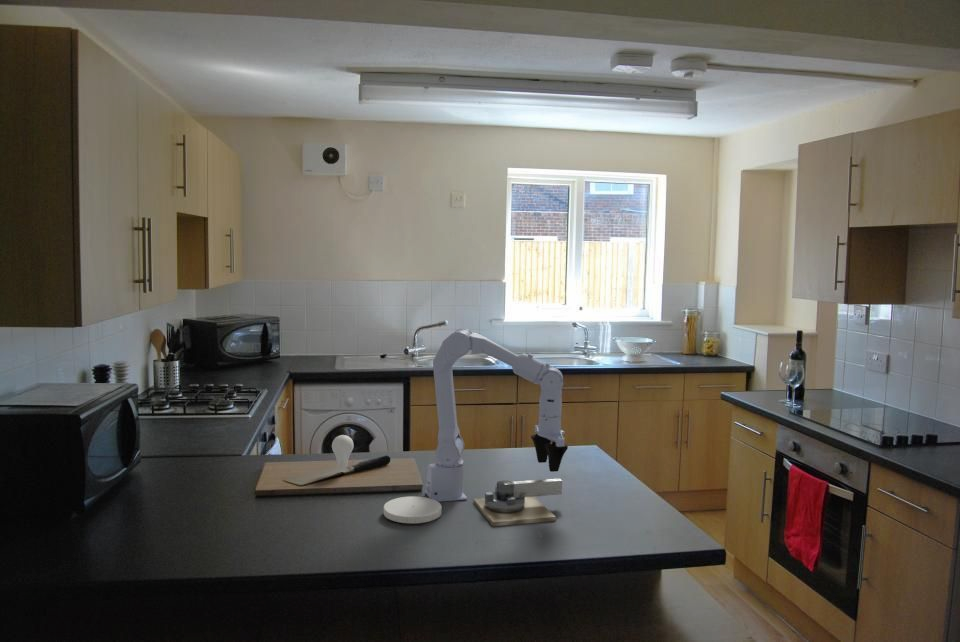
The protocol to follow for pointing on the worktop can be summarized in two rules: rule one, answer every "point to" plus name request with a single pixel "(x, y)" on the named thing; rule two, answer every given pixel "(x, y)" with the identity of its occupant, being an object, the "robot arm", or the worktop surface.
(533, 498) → the square wooden board
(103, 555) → the worktop surface
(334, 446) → the lightbulb
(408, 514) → the plastic lid
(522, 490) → the metal lever mechanism
